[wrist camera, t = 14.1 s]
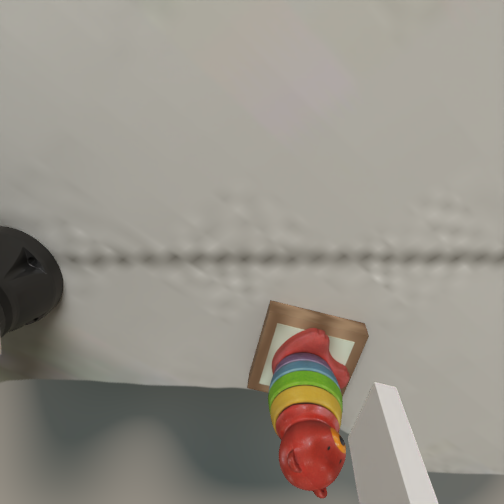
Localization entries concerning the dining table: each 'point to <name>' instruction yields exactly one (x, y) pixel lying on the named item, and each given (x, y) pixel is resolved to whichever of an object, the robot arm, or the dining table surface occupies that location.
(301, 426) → the stacking bear
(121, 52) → the dining table surface
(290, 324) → the picture frame
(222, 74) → the dining table surface
